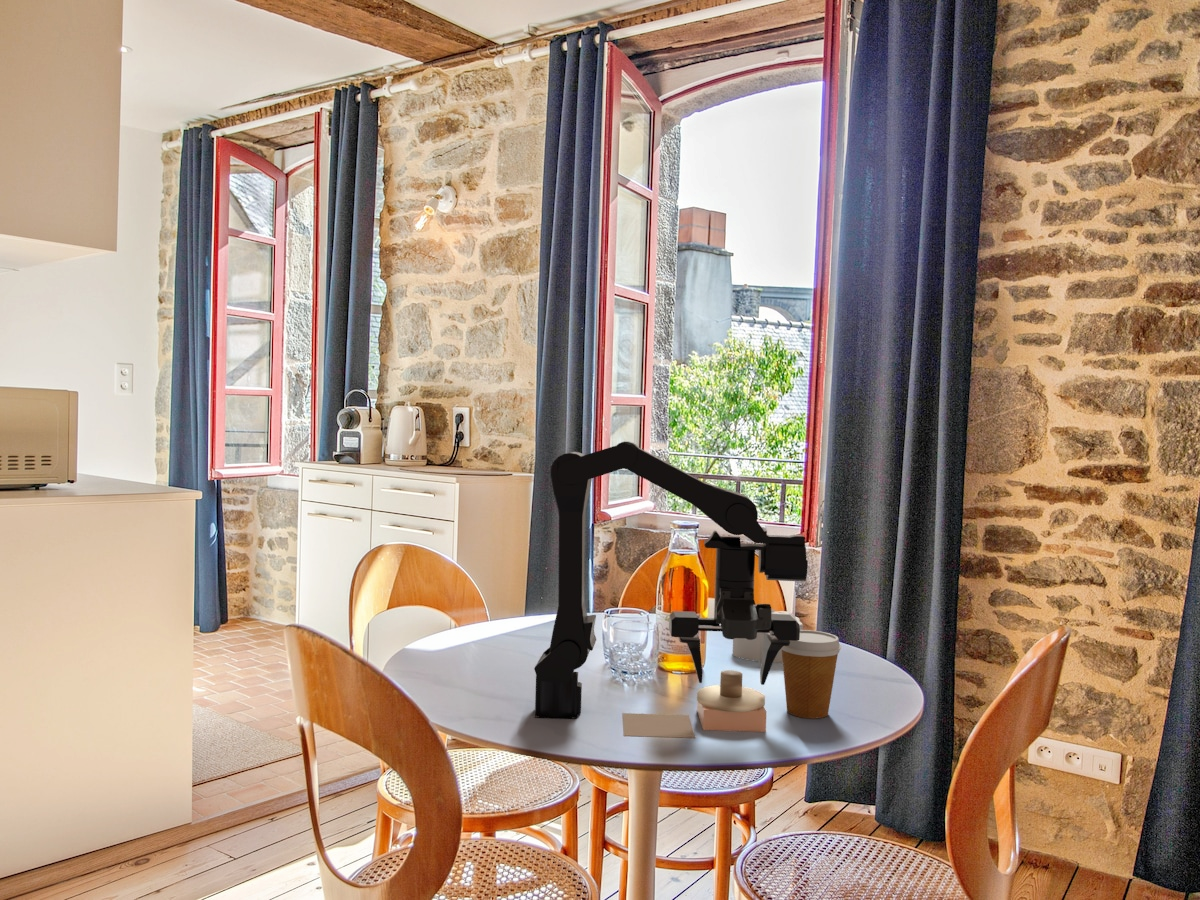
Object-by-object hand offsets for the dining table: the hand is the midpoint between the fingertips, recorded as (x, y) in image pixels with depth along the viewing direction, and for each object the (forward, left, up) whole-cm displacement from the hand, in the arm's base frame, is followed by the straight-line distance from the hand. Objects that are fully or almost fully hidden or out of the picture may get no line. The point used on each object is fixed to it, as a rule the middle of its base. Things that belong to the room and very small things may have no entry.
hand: (731, 683), depth 137 cm
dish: (0, 0, -6) cm, 6 cm away
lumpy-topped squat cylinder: (+13, +42, -6) cm, 45 cm away
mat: (-11, -3, -6) cm, 13 cm away
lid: (0, 0, -3) cm, 3 cm away
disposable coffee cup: (+13, +7, -6) cm, 16 cm away
